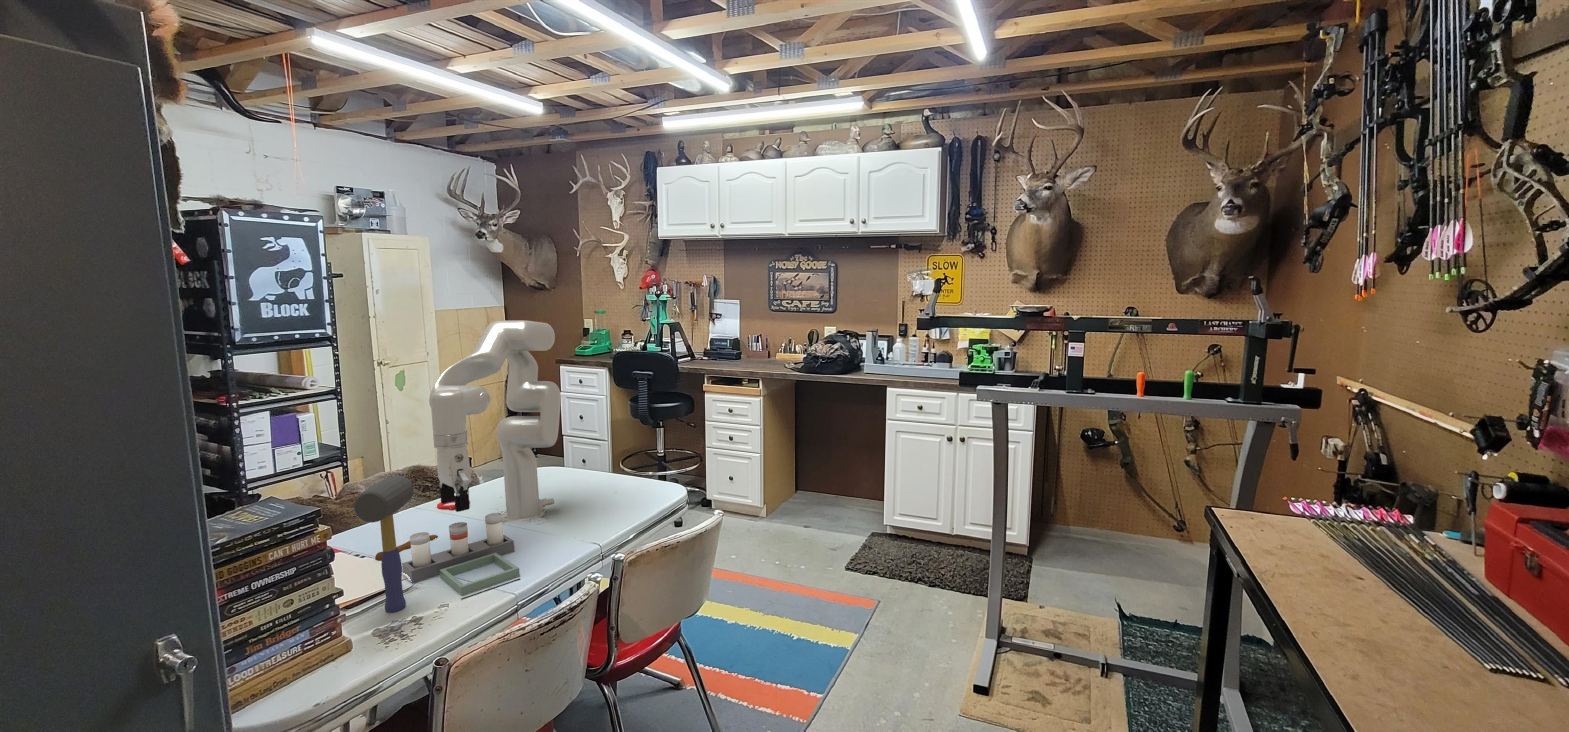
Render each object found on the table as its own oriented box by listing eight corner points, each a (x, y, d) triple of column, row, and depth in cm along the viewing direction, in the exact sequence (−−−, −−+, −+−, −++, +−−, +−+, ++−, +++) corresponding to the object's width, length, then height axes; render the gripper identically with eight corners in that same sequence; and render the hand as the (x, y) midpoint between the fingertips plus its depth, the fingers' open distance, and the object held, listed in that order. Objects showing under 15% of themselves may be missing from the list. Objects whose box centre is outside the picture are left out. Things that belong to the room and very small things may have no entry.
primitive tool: (422, 536, 189) (421, 525, 188) (440, 537, 188) (439, 525, 188) (373, 565, 170) (372, 552, 169) (392, 566, 169) (391, 553, 169)
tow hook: (431, 508, 213) (449, 511, 208) (427, 469, 212) (445, 472, 207) (455, 500, 220) (473, 503, 216) (451, 463, 219) (469, 465, 214)
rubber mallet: (392, 599, 150) (380, 473, 146) (426, 597, 151) (415, 472, 147) (362, 628, 138) (348, 491, 134) (399, 626, 139) (386, 489, 135)
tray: (496, 563, 169) (495, 552, 169) (520, 579, 160) (519, 567, 159) (440, 581, 159) (439, 569, 159) (462, 599, 150) (461, 587, 150)
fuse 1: (429, 568, 164) (425, 530, 163) (435, 573, 161) (431, 535, 160) (410, 574, 161) (407, 535, 160) (416, 579, 158) (412, 540, 157)
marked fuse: (466, 557, 171) (463, 520, 169) (472, 562, 168) (469, 524, 166) (449, 562, 168) (446, 525, 166) (455, 567, 165) (452, 529, 163)
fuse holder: (503, 547, 179) (502, 533, 178) (514, 554, 174) (513, 540, 174) (403, 578, 161) (402, 562, 161) (412, 587, 157) (411, 571, 156)
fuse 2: (500, 547, 177) (498, 511, 176) (507, 551, 174) (504, 515, 173) (485, 551, 174) (482, 515, 173) (491, 556, 171) (488, 519, 170)
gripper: (480, 442, 160) (484, 509, 162) (453, 432, 172) (457, 495, 174) (447, 447, 155) (452, 517, 156) (422, 437, 167) (427, 502, 168)
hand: (455, 506), depth 165 cm, fingers open, 9 cm apart
